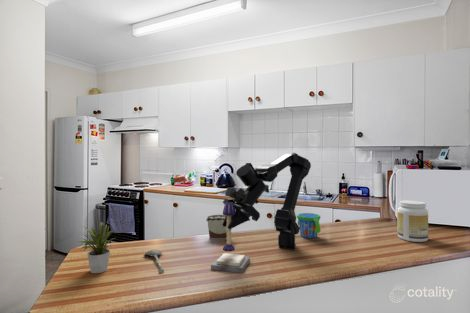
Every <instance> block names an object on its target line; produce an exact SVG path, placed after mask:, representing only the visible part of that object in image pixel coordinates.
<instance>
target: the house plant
mask: <svg viewBox="0 0 470 313" xmlns="http://www.w3.org/2000/svg"><path fill="white" fill-rule="evenodd" d="M104 225H105V222H104V223H103V221H101V222H100V223H99V226H98V231H97V230H96V229H95V228H94V226H91V230H90V229H88V227H85V226H81V225H80V228H81V227H82V228H84V229H85V230H87V232H88V233H89V234H85V233H83V232H82V231H79V233H80V234H81V233H82V235H83V236H85V237H86V238H87V239H88V240H87V239H86V238H82V240H79V241H77V243H79V244H78V245H79V246H81V245H83V246H82V247H81V248H80V249H79V250H82V249H83V251H86V250H87V249H90V251H88V252H87V260H88V265H89V270H90V273H91V274H100V273H104V272H106V271H107V270H108V266H109V260H110V255H111V254H110V253H111V250H110V249H109V247H110V248H112V245H108V243H109V242H110V241H112V240H114V239H115V237H114V238H110V239H109V237H110V236H111V234H112V233H113V232H114V231H115V230H116V228H114V229H113V230H110V231H109V229H110V226H108V225H107V223H106V225H105V227H104ZM103 227H104V230H103ZM102 230H103V234H102ZM90 238H91V239H92V240H91V239H90ZM108 239H109V240H108ZM84 243H86V244H87V245H84Z"/></svg>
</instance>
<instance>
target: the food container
mask: <svg viewBox="0 0 470 313" xmlns="http://www.w3.org/2000/svg"><path fill="white" fill-rule="evenodd" d="M225 217H226V215H223V214H213V215H209V216H207V218H206V222H207V227H208V236H209V240H210V239H212V240H213V239H215V240H218V239H219V240H227V239H226V238H227V234H226V233H227V230H226V228H227V226H225V227H224V226H223V225H222V224H223V222H224V219H225Z"/></svg>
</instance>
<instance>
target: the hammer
mask: <svg viewBox="0 0 470 313" xmlns="http://www.w3.org/2000/svg"><path fill="white" fill-rule="evenodd" d="M162 253H163V251H162V250H159V249H150V250H148V251H146V252H145V253H144V255H147V256H151V257H153V258H155V260H156V262H157V264H158V268H159V270H158V273H159V274H160V273H164V272H165V270H164V269H163V266H162V264H161V262H160V259H159V258H158V256H160V255H161V254H162Z"/></svg>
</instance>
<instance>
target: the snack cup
mask: <svg viewBox="0 0 470 313" xmlns="http://www.w3.org/2000/svg"><path fill="white" fill-rule="evenodd" d="M296 219H297V225H298V226H299V227H300V229H299V234H300V236H301V237H303V238H305V239H314V238H316V237H317V236H318V234H319V233H321V231H322V230H321V225H320V220H321V215H320V214H317V213H311V212H302V213H298V214H297V215H296Z"/></svg>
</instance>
